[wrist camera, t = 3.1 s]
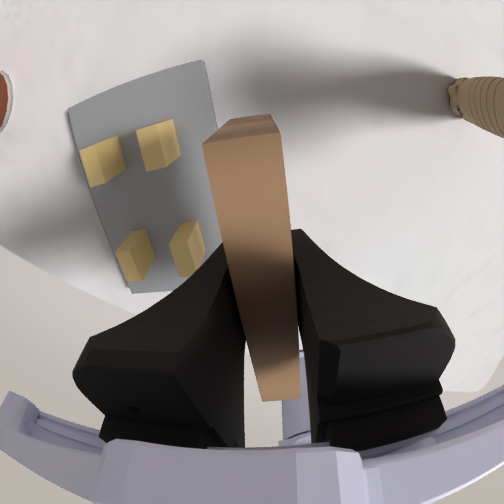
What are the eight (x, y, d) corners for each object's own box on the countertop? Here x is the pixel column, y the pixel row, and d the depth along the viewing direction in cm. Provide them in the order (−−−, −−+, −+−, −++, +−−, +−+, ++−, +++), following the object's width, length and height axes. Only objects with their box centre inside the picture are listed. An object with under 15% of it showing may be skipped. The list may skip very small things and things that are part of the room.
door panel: (290, 303, 16) (300, 398, 10) (262, 306, 16) (262, 401, 11) (269, 113, 10) (280, 132, 5) (230, 119, 10) (201, 144, 5)
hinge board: (247, 275, 22) (244, 310, 19) (135, 286, 23) (119, 317, 20) (204, 61, 14) (188, 52, 11) (75, 107, 15) (40, 115, 12)
